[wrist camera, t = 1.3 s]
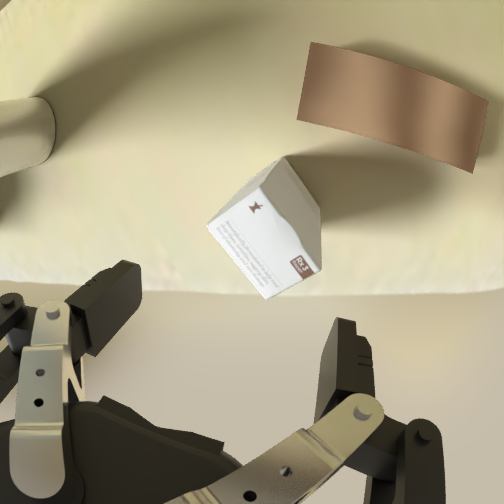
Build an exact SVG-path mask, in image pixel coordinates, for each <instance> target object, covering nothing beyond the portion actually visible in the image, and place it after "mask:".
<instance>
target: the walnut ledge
mask: <svg viewBox="0 0 504 504" xmlns="http://www.w3.org/2000/svg"><path fill="white" fill-rule="evenodd" d="M487 107H488V101H487V100H485V99H483V98H481V97H479V96H477V95H475V94H472V93H470V92H468V91H466V90H464V89H462V88H459V87H457V86H455V85H453V84H450V83H448V82H446V81H443V80H441V79H438V78H436V77H433V76H431V75H428V74H425V73H423V72H420V71H417V70H414V69H412V68H409V67H406V66H403V65H400V64H397V63H394V62H390V61H387V60H384V59H381V58H377V57H374V56H370V55H366V54H363V53H359V52H355V51H351V50H347V49H342V48H338V47H334V46H329V45H324V44H319V43H314V42H311V44H310V50H309V55H308V61H307V66H306V72H305V77H304V83H303V88H302V94H301V99H300V105H299V110H298V115H297V120H300V121H305V122H310V123H314V124H319V125H323V126H327V127H331V128H335V129H339V130H343V131H347V132H351V133H355V134H359V135H362V136H366V137H369V138H373V139H376V140H380V141H383V142H386V143H389V144H393V145H396V146H399V147H402V148H405V149H408V150H411V151H414V152H417V153H420V154H423V155H426V156H428V157H431V158H434V159H437V160H439V161H442V162H445V163H447V164H450V165H452V166H455V167H457V168H460V169H462V170H465V171H467V172H470V173H472V174H473V170H474V166H475V162H476V159H477V155H478V151H479V146H480V142H481V138H482V133H483V128H484V123H485V118H486V113H487Z"/></svg>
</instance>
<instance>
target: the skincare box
mask: <svg viewBox="0 0 504 504" xmlns="http://www.w3.org/2000/svg"><path fill="white" fill-rule="evenodd" d="M206 227H207V228H208V230H209V231H210V232H211V233H212V235H213V236H214V237H215V238H216V239H217V241H218V242H219V243H220V244H221V246H222V247H223V248H224V249H225V251H226V252H227V253H228V254H229V255H230V257H231V258H232V259H233V260H234V261H235V263H236V264H237V265H238V266H239V268H240V269H241V270H242V271H243V272H244V274H245V275H246V276H247V277H248V279H249V280H250V281H251V282H252V283H253V285H254V286H255V287H256V288H257V290H258V291H259V292H260V293H261V294H262V296H263V297H264V298H265V299H266V300H268V299H270V298H272V297H273V296H275V295H277V294H279V293H281V292H283V291H284V290H286V289H288V288H290V287H292V286H294V285H295V284H297V283H299V282H301V281H303V280H304V279H306V278H308V277H310V276H312V275H314V274H316V273H317V272H319V271H321V269H322V261H321V259H322V257H321V214H320V207H319V205H318V204H317V203H316V201H315V200H314V198H313V197H312V195H311V194H310V192H309V191H308V190H307V188H306V187H305V185H304V184H303V182H302V181H301V180H300V178H299V177H298V175H297V174H296V173H295V171H294V170H293V168H292V167H291V166H290V164H289V163H288V161H287V160H286V159H285V158H284V157H281V158H279V159H278V160H276V161H275V162H273V163H272V164H271V165H269V166H268V167H266V168H265V169H263V170H262V171H261V172H259V173H258V174H256V175H255V176H254V177H252V178H251V179H250V180H249V181H248V182H247V183H246V184H245V185H244V186H243V187H242V188H241V189H240V190H239V191H238V192H237V193H236V194H235V195H234V196H233V197H232V198H231V199H230V200H229V201H228V202H227V203H226V204H225V205H224V206H223V207H222V208H221V209H220V210H219V212H218V213H217V214H216V215H215V216H214V217H213V218H212V219H211V220H210V221H209V222H208V223H207V225H206Z"/></svg>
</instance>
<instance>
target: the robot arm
mask: <svg viewBox="0 0 504 504" xmlns="http://www.w3.org/2000/svg"><path fill="white" fill-rule="evenodd" d="M54 140H55V119H54V115H53V112H52V109H51V107H50V105H49V104H48V103H47V101H46V100H44V99H43V98H40V97H32V98H23V99H15V100H7V101H0V178H1V177H3V176H6V175H9V174H11V173H14V172H17V171H20V170H23V169H26V168H29V167H32V166H35V165H38V164H41V163H42V162H44V161H45V160H46V159H47V158H48V156H49V155H50V153H51V150H52V148H53V144H54ZM141 299H142V284H141V267H140V265H139V264H136V263H132V262H129V261H126V260H121V261H120V262H119V263H117V264H116V265H115V266H114V267H112V268H108V269H105V270H103V271H100V272H99V273H97V274H96V275H95V276H94V277H92V278H91V280H89V281H87V282H86V283H85V285H83V286H81V287H80V288H79V289H78V290H77V291H75V292H74V293H73V294H72V295H71V296H69V297H68V298H67V299H66V300H65V301H64V302H63V301H60V300H52V301H48V302H45V303H43V304H42V305H41V306H40V307H39V308H35V307H29V306H25V303H24V300H23V297H22V296H21V295H20V294H17V293H7V294H4V295H2V296H1V297H0V340H1V339H2V338H3V337H4V336H5V337H6V339H7V341H8V344H9V345H8V346H7V347H6V348H5V349H4V350H3V351H2V352H1V353H0V403H1V402H2V401H3V400H4V398H5V397H6V396H7V395H8V393H9V392H10V391H11V390H12V389H13V387H14V386H15V385H16V383H17V382H18V388H17V399H16V413H15V419H13V420H10V421H6V422H2V423H0V504H301V503H302V502H303V501H304V500H306V499H307V498H308V497H309V496H310V495H311V494H313V493H314V492H315V491H316V490H317V489H318V488H320V487H321V486H322V485H323V484H324V483H325V482H326V481H328V480H329V479H330V478H331V477H332V476H333V475H334V474H336V473H337V472H338V471H339V470H340V469H341V468H342V467H343V466H344V465H345V466H348V467H350V468H352V469H354V470H357V471H359V472H362V473H364V474H366V475H367V480H366V488H365V497H364V503H363V504H446V494H445V471H444V456H443V446H442V436H441V433H440V431H439V429H438V428H437V426H436V425H434V424H433V423H432V422H430V421H429V420H425V419H415V420H413V421H411V422H410V423H409V424H408V425H406V424H403V423H401V422H398V421H396V420H394V419H391V418H389V417H388V416H386V415H385V414H384V409H383V407H382V405H381V404H380V403H379V401H378V400H376V399H375V386H374V372H373V368H372V367H373V361H372V350H371V346H370V344H369V343H368V341H367V339H366V338H365V337H363V336H358V335H357V334H356V322H355V321H351V320H347V319H343V318H338V317H337V318H336V319H335V321H334V323H333V326H332V329H331V332H330V334H329V336H328V339H327V341H326V344H325V347H324V350H323V353H322V357H321V363H320V374H319V383H318V393H317V402H316V409H315V417H314V425H312V426H311V427H310V428H308V429H307V430H305V429H299V430H298V431H296V432H295V433H293V434H292V435H290V436H289V437H287V438H286V439H284V440H283V441H281V442H280V443H278V444H277V445H275V446H274V447H272V448H271V449H269V450H268V451H266V452H265V453H263V454H262V455H260V456H259V457H257V458H256V459H254V460H252V461H251V462H249V463H247V464H246V465H244V466H242V464H241V463H239V462H238V461H237V460H236V459H235V458H233V457H232V456H231V455H229V454H227V453H226V452H224V451H223V447H224V442H221V441H218V440H215V439H211V438H208V437H205V436H202V435H199V434H196V433H193V432H187V431H180V430H173V429H166V428H160V427H156V426H154V425H153V424H151V423H150V422H149V421H147V420H146V419H145V418H143V417H142V416H140V415H139V414H138V413H136V412H135V411H134V410H132V409H131V408H130V407H127V406H125V405H123V404H121V403H119V402H117V401H114V400H112V399H110V398H108V397H106V396H103V397H102V398H101V400H100V401H99V402H92V401H86V398H85V388H84V371H83V359H82V356H83V355H84V354H85V352H86V353H88V354H90V355H92V356H94V357H96V356H97V355H98V354H99V352H100V351H101V350H102V349H103V348H104V347H105V345H106V344H107V343H108V342H109V341H110V340H111V339H112V337H113V336H114V335H115V334H116V333H117V332H118V330H119V329H120V328H121V327H122V326H123V325H124V324H125V323H126V322H127V320H128V319H129V318H130V317H131V316H132V315H133V314H134V313H135V311H136V310H137V309H138V308H139V306H140V303H141Z"/></svg>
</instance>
